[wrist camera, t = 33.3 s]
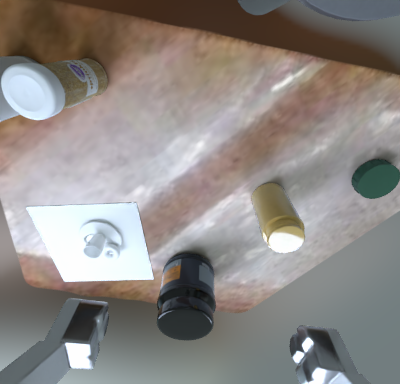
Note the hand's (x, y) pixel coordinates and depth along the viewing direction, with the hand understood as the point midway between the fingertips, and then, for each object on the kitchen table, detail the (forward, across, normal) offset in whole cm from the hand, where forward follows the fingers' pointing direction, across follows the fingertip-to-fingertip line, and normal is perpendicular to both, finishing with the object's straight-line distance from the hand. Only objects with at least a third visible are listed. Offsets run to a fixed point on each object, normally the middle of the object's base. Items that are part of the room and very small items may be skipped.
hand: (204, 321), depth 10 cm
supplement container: (+29, +2, -30) cm, 42 cm away
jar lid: (+28, +28, -3) cm, 39 cm away
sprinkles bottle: (+29, -16, +4) cm, 34 cm away
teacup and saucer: (+29, -17, -27) cm, 43 cm away
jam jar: (+29, +13, -10) cm, 33 cm away
